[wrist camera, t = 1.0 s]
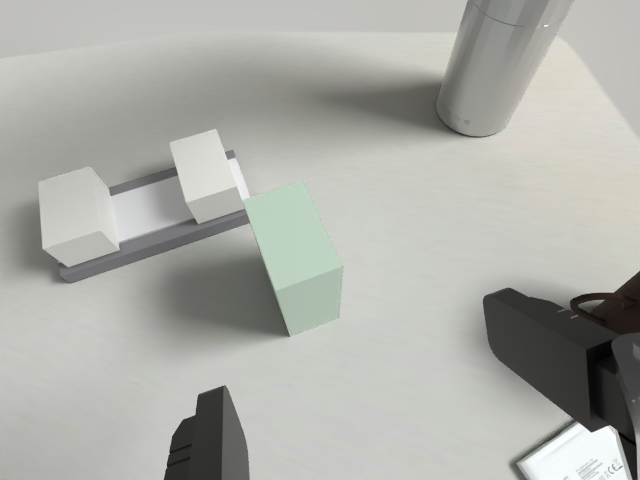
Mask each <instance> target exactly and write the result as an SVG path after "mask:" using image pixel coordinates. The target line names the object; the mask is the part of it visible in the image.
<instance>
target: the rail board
mask: <svg viewBox="0 0 640 480" xmlns="http://www.w3.org/2000/svg"><path fill="white" fill-rule="evenodd" d="M169 144H170V147H171V151H172V154H173V158H174V162H175V165H176V167H175V168H172V169H169V170H165V171H162V172H159V173H156V174H152V175H149V176H146V177H143V178H139V179H136V180H133V181H129V182H126V183H123V184H120V185H116V186H113V187H110V188H108V187H107V186H106V185H105V184H104V182H103V181H102V180H101V179H100V178H99V176H98V175H97V174H96V173H95V171H94V170H93V169H92V168H91V167H90V166H88V167H85V168H81V169H78V170H75V171H71V172H68V173H65V174H61V175H58V176H54V177H51V178H48V179H44V180H41V181H38V191H39V205H40V219H41V234H42V248H43V250H45V251H46V252H48V253H49V254H50V255H52V256H53V257H54V258H56V259H57V263H59V271H60V277H61V278H63V279H64V280H66V281H67V282H69V283H73V282H76V281H79V280H82V279H85V278H88V277H91V276H94V275H97V274H100V273H103V272H106V271H109V270H112V269H115V268H118V267H121V266H123V265H126V264H129V263H132V262H135V261H138V260H141V259H144V258H147V257H150V256H153V255H156V254H159V253H162V252H165V251H168V250H171V249H174V248H177V247H180V246H183V245H185V244H188V243H191V242H194V241H197V240H200V239H203V238H206V237H209V236H212V235H215V234H218V233H221V232H224V231H227V230H230V229H233V228H236V227H239V226H242V225H245V224H247V223H250V221H249V218H248V215H247V212H246V209H245V206H244V203H243V201H242V200H244V199H247V198H250V194H249V191H248V189H247V186H246V183H245V181H244V178H243V175H242V173H241V170H240V167H239V165H238V162H237V159H236V157H235V154H234V152H233V150H231V151H227V152H225V151H224V149H223V146H222V143H221V140H220V138H219V135H218V132H217V129H213V130H210V131H206V132H203V133H200V134H196V135H193V136H190V137H186V138H183V139H179V140H176V141H173V142H169Z"/></svg>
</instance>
